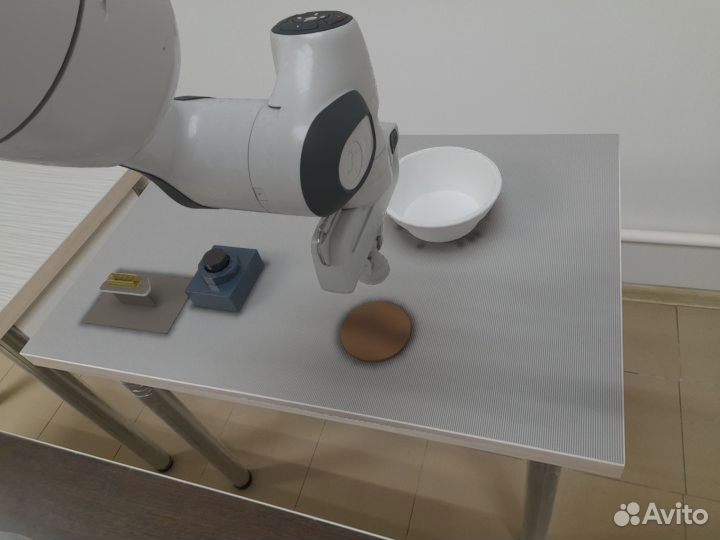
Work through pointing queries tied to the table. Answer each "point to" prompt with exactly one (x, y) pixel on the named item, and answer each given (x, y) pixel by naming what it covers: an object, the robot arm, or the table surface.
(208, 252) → the dark grey push button
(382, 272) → the rook chess piece
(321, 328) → the table surface
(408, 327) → the coaster
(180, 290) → the platform
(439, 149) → the bowl
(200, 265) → the blue push button box
